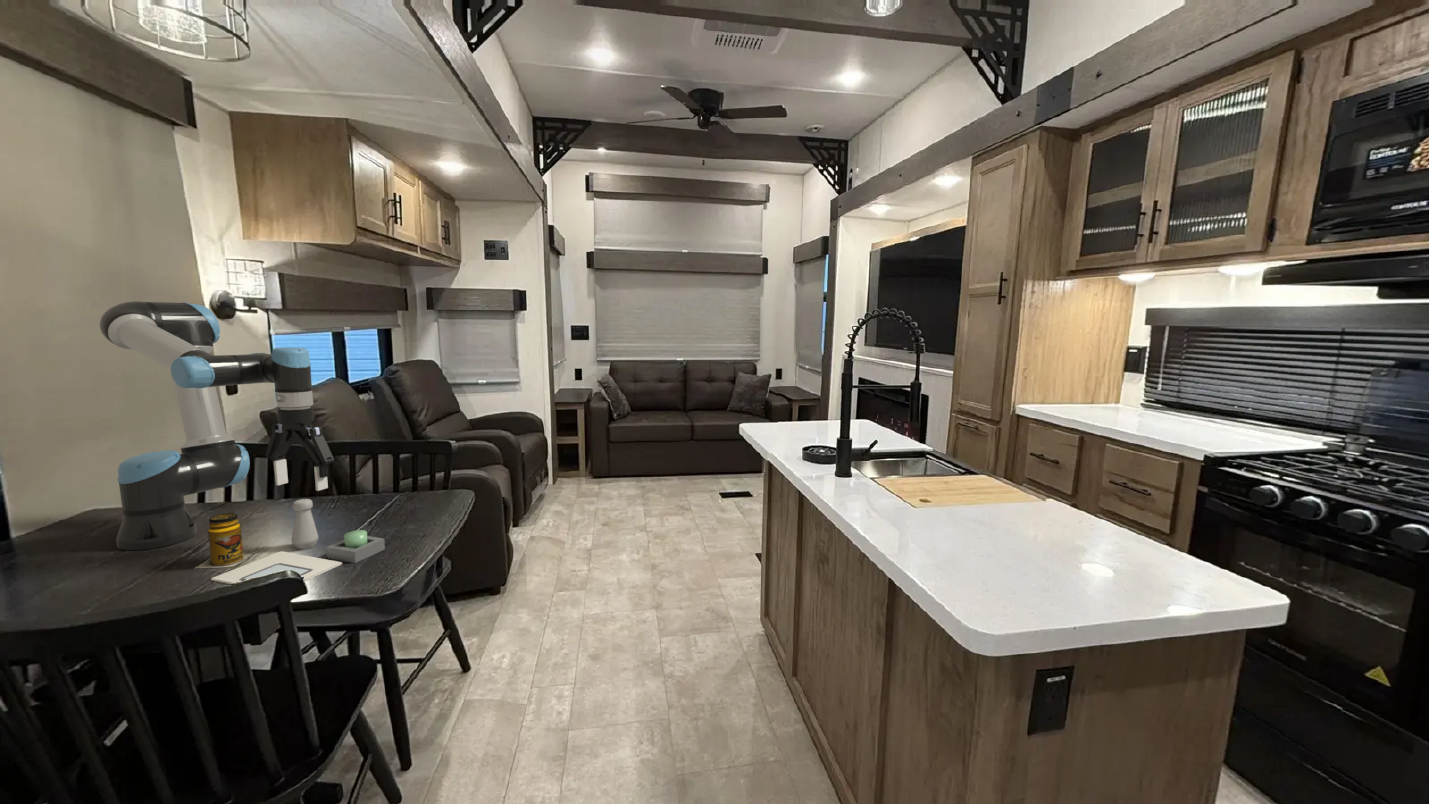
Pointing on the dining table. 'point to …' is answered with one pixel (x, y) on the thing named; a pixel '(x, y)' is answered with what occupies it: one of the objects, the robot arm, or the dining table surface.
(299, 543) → the salt shaker
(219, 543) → the condiment
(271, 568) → the colouring board
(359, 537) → the button
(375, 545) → the button housing
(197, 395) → the robot arm
